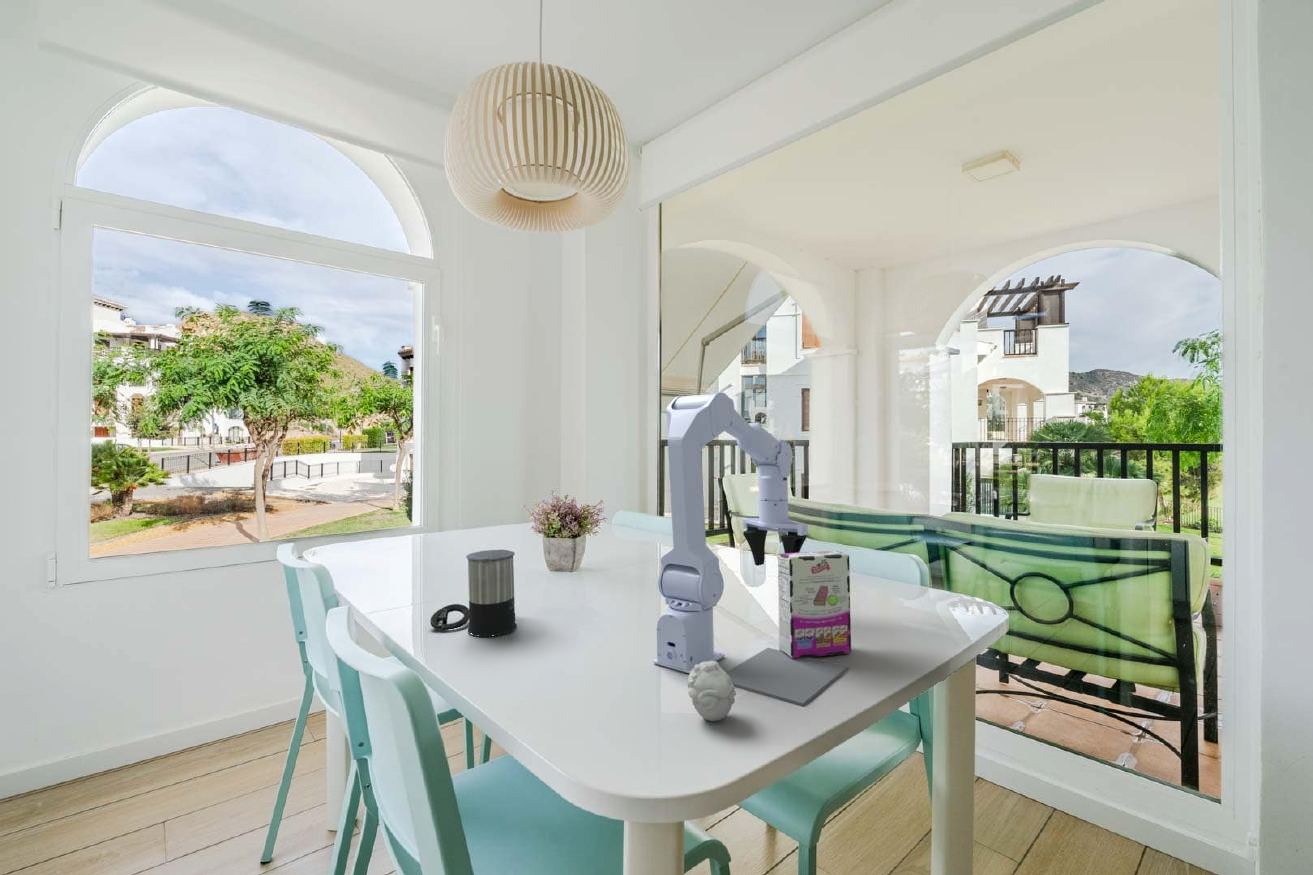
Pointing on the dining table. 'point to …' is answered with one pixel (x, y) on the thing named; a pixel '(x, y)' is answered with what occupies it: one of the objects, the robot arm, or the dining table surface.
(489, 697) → the dining table surface
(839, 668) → the rubber mat
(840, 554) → the candy bar box
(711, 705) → the white carved ornament
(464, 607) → the milk frother
